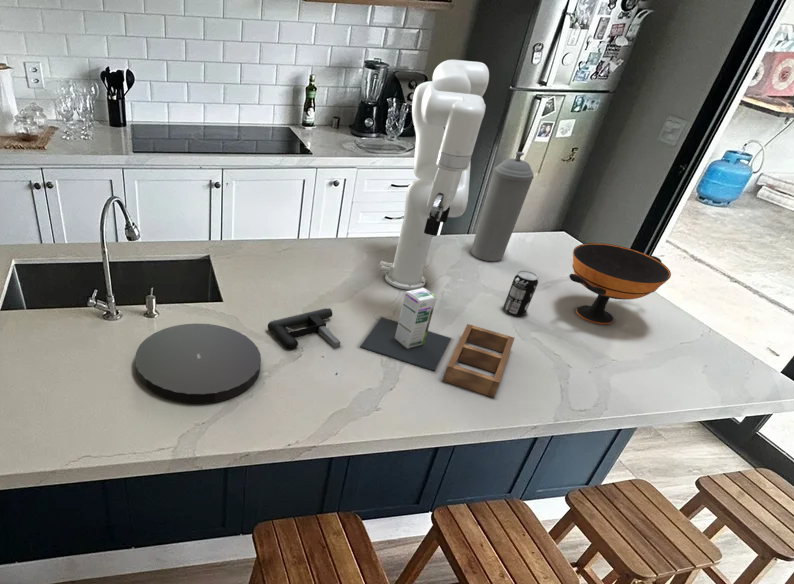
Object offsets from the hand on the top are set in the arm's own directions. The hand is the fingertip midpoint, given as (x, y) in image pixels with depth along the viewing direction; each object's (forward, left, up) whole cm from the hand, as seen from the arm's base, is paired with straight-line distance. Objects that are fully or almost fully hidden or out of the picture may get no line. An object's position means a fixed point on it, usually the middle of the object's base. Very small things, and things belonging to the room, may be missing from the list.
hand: (435, 227), depth 148 cm
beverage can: (+26, +22, -27) cm, 43 cm away
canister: (+11, +59, -27) cm, 66 cm away
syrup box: (+3, -13, -27) cm, 30 cm away
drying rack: (+22, -14, -27) cm, 37 cm away
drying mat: (+3, -14, -27) cm, 31 cm away
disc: (-38, -53, -27) cm, 71 cm away
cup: (+48, +34, -27) cm, 65 cm away
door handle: (-21, -25, -27) cm, 42 cm away
